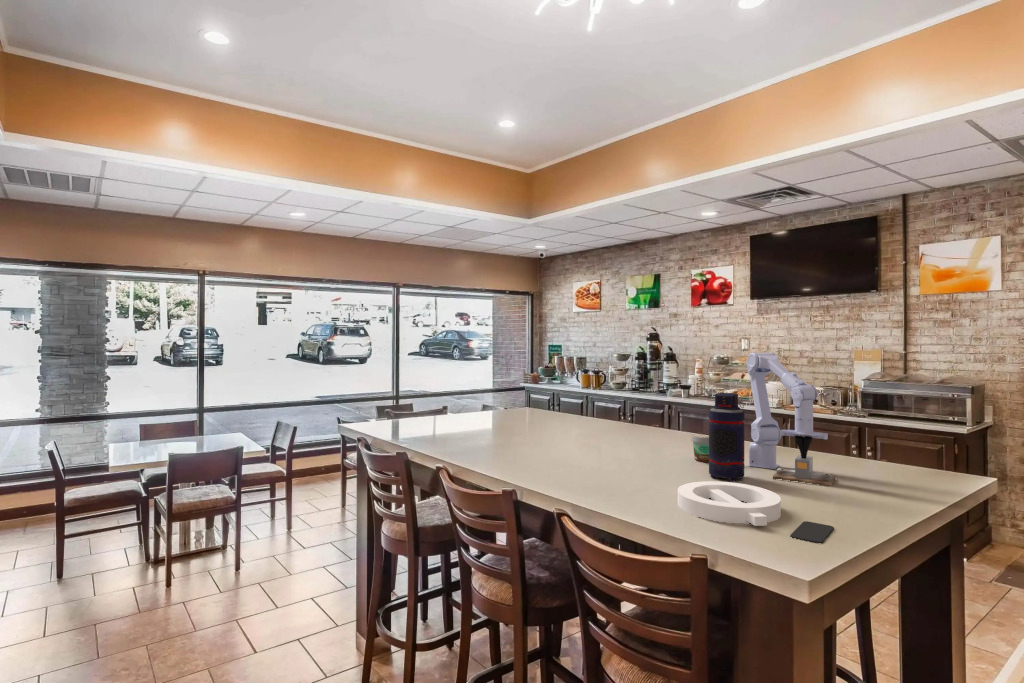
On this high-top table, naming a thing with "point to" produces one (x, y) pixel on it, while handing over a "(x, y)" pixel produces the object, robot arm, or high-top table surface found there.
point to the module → (803, 467)
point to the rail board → (814, 479)
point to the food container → (701, 449)
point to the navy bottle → (726, 437)
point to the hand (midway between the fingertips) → (803, 457)
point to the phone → (812, 532)
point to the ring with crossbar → (730, 502)
